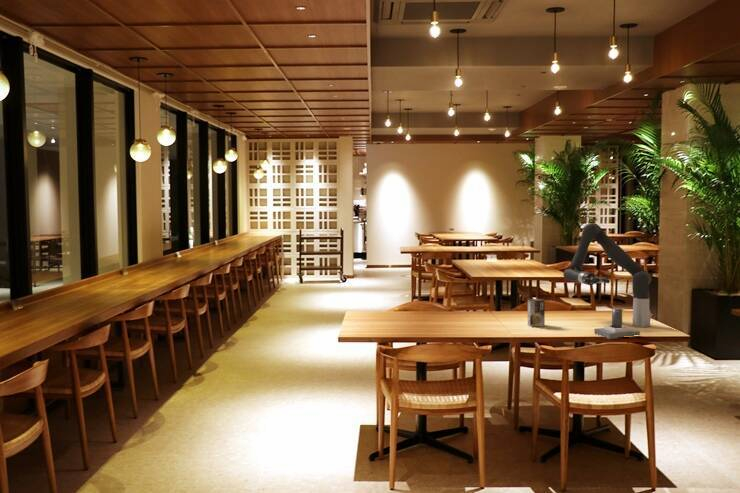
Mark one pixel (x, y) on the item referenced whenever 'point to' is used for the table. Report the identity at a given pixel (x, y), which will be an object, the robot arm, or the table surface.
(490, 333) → the table surface
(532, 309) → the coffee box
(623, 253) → the robot arm
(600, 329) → the grey flat block
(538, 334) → the table surface
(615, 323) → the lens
